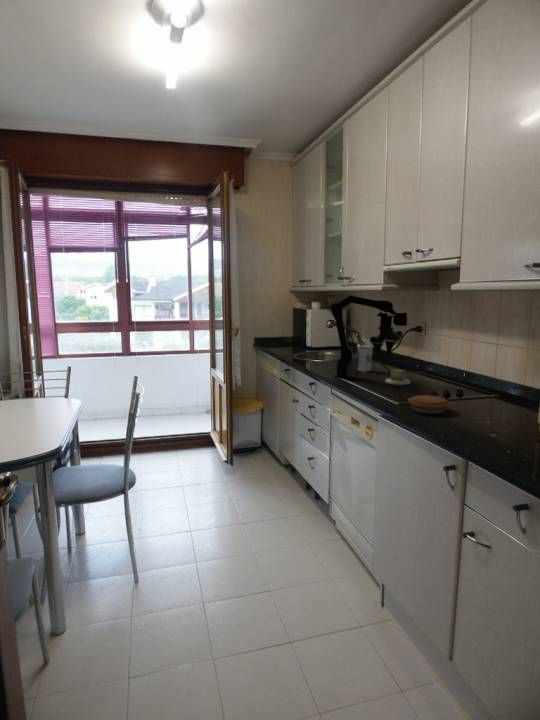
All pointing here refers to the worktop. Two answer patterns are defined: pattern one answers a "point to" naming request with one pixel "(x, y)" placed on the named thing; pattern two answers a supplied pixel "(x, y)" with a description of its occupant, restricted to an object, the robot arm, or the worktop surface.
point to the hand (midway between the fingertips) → (383, 355)
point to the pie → (428, 404)
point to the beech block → (397, 375)
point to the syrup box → (364, 358)
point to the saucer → (397, 382)
